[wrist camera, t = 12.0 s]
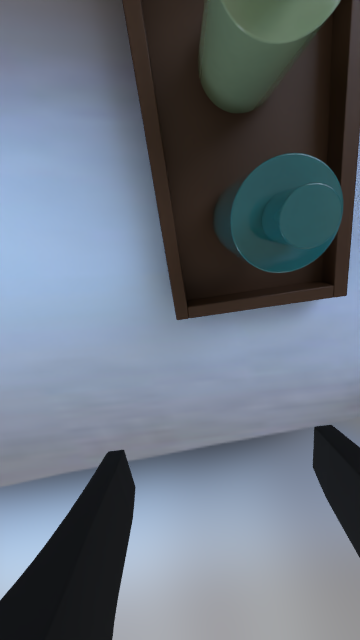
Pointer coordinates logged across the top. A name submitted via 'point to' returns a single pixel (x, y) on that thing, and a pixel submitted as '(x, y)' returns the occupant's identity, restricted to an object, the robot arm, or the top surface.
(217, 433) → the top surface
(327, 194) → the teal bottle
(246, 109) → the green bottle middle
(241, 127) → the tray
